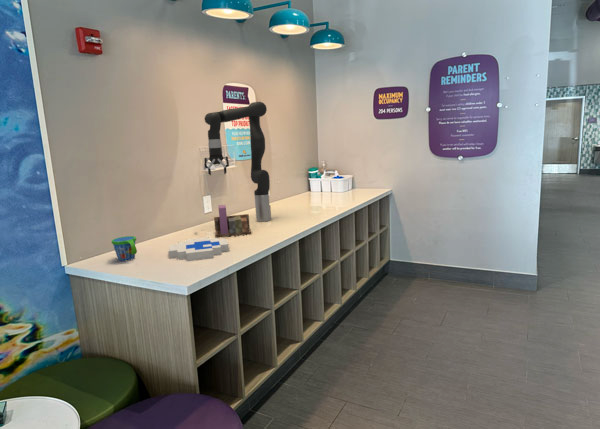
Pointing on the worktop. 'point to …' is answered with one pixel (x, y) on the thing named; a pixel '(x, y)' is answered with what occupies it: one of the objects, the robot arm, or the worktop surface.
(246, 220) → the camouflage pattern block
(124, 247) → the snack cup
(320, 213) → the worktop surface
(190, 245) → the pixel art tile
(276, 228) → the worktop surface
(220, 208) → the plum book
